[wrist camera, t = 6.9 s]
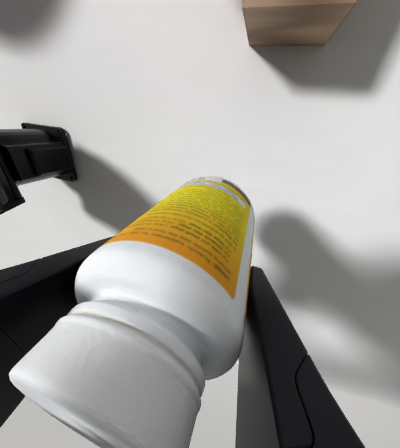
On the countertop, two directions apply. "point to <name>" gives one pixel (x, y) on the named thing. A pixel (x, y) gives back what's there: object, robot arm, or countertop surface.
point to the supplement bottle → (150, 322)
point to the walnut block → (293, 21)
